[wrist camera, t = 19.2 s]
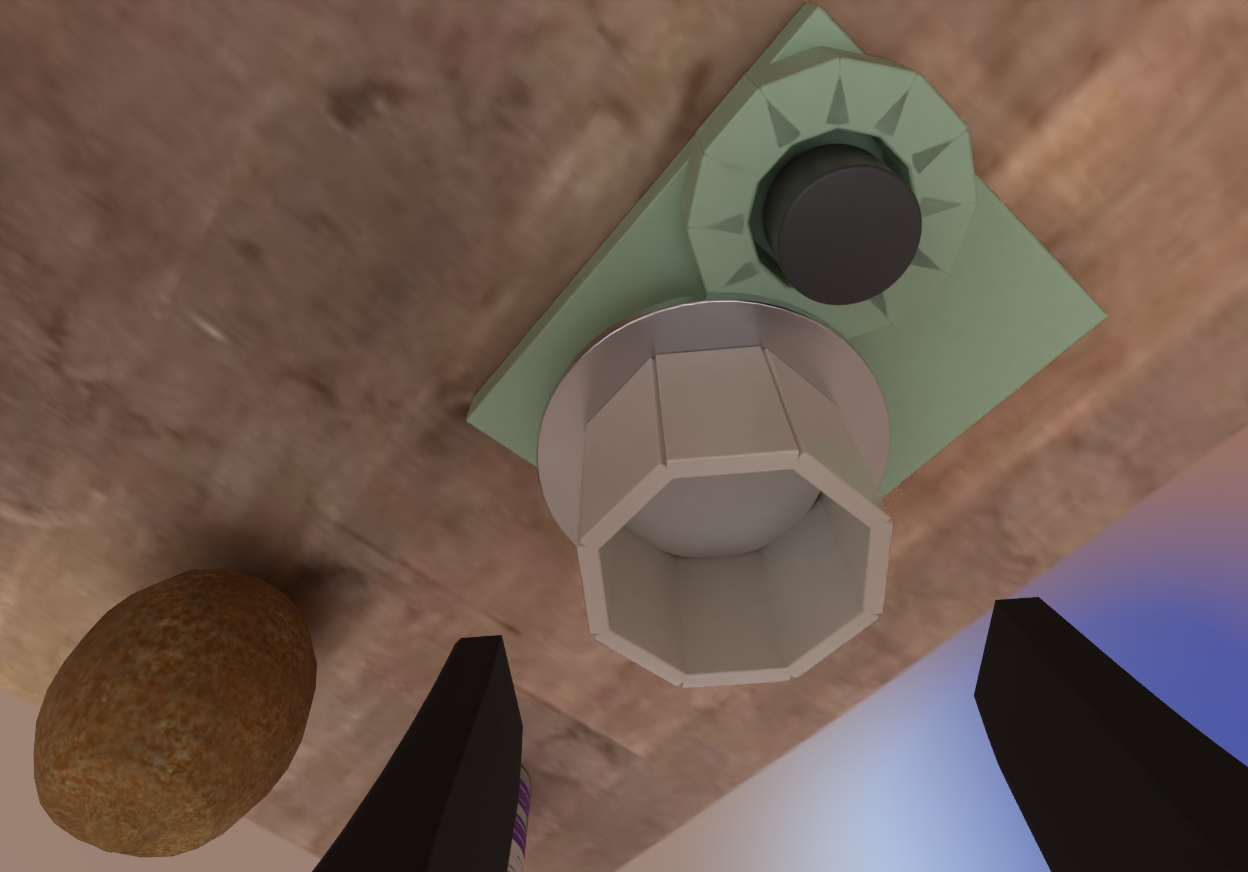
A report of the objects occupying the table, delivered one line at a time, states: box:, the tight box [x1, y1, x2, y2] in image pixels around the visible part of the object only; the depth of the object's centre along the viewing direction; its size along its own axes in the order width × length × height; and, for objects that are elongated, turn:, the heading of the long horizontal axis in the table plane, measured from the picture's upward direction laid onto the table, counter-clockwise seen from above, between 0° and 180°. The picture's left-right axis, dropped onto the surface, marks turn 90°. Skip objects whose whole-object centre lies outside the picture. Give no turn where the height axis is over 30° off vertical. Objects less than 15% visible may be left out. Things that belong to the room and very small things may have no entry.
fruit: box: [34, 569, 317, 857], centre depth 21 cm, size 6×6×8 cm
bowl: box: [577, 346, 893, 688], centre depth 16 cm, size 6×6×4 cm
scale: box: [466, 3, 1107, 498], centre depth 19 cm, size 12×10×3 cm
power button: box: [763, 144, 922, 305], centre depth 15 cm, size 3×3×2 cm
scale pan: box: [536, 293, 890, 547], centre depth 18 cm, size 8×8×1 cm
